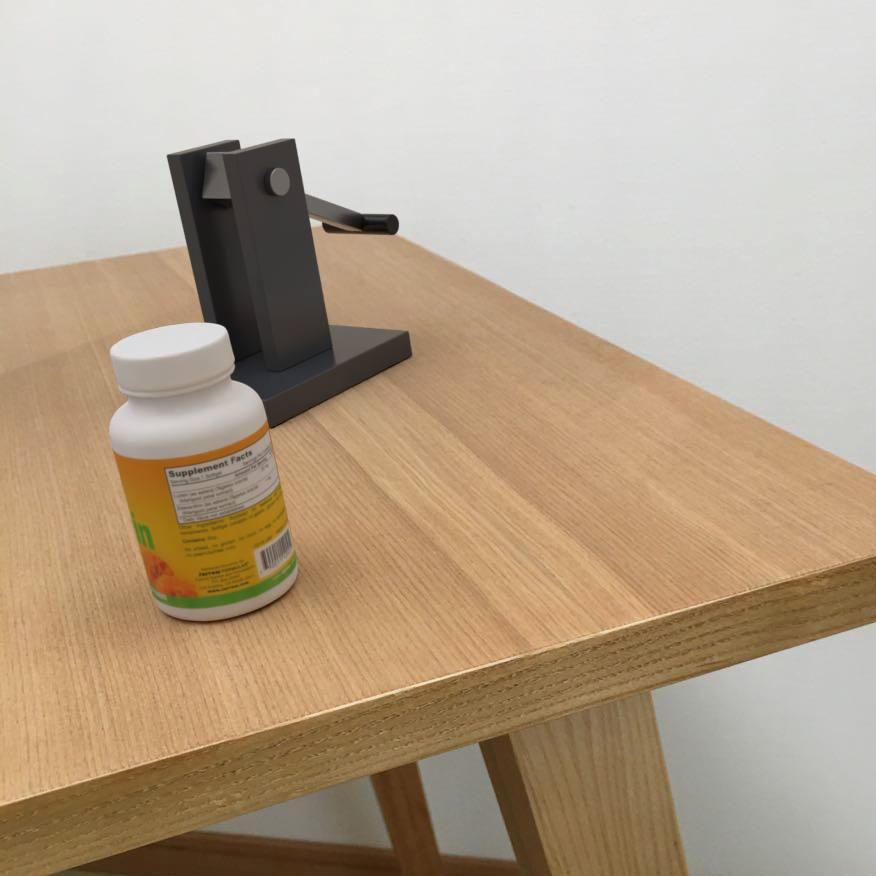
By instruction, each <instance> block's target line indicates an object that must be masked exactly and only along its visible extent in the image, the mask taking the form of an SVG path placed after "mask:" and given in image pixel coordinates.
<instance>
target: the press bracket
mask: <svg viewBox="0 0 876 876" xmlns="http://www.w3.org/2000/svg"><path fill="white" fill-rule="evenodd" d="M207 152H228V153H224V154H222V157H223V161H224V166H225V171H226V176H227V181H228V186H229V190H230V195H231V200H232V205H233V208H230V207H227V206H224V205H221V204H218V203H214V202H211V201H208V200H205V199H203V198H202V190H203V180H204V171H205V161H206V153H207ZM166 160H167V164H168V168H169V173H170V177H171V181H172V186H173V191H174V195H175V199H176V204H177V209H178V213H179V217H180V218H179V219H180V221H181V227H182V230H183V231H182V232H183V236H184V239H185V243H186V248H187V253H188V257H189V261H190V266H191V270H192V274H193V278H194V279H193V280H194V283H195V288H196V292H197V297H198V301H199V305H200V306H199V307H200V310H201V315H202V318H203V319H202V320H203V323H213V324H218V325H221V326H223V327H225V328H226V330H227V332H228V335H229V339H230V344H231V347H232V351H233V355H234V358H235V361H234V365H235V368H234V371H233V373H232V374H231V375H230V377H231V380H233V381H237V382H240V383H243V384H245V385H247V386H249V387H250V388H252V389H253V390H254V391H255V392H256V393H257V394H258V395H259V397H260V398H261V400H262V403H263V406H264V409H265V413H266V417H267V421H268V425H269V428H275V426H278V425H279V424H283V422H285V421H288V420H289V419H291V418H293V417H296V416H297V415H299V414H301V413H303V412H305V411H307V410H309V409H310V408H313V407H314V406H317V405H319V404H320V403H323V402H324V401H327V400H328V399H331V398H332V397H334V396H336V395H338V394H340V393H342V392H344V391H346V390H347V389H349V388H351V387H353V386H356V385H357V384H359V383H362V382H363V381H365V380H367V379H369V378H371V377H373V376H375V375H377V374H378V373H381V372H383V371H385V370H386V369H389V368H390V367H393V366H394V365H397V364H399V363H401V362H402V361H405V360H406V359H408V358H410V357H412V356H413V350H412V343H411V337H410V331H409V330H404V329H403V330H401V329H391V328H376V327H363V326H351V325H338V324H329V318H328V313H327V307H326V302H325V297H324V291H323V285H322V279H321V274H320V270H319V269H320V267H319V263H318V257H317V252H316V247H315V241H314V236H313V231H312V230H313V229H312V224H311V218H309V213H308V207H307V202H306V196H305V194H306V191H305V185H304V180H303V176H302V170H301V164H300V159H299V152H298V147H297V142H296V138H293V137H291V138H290V137H288V138H278V139H274V140H270V141H267V142H263V143H259V144H254V145H250V146H247V147H244V148H242V147H241V141H240V140H239V139H224V140H221V141H216V142H212V143H208V144H205V145H200V146H196V147H192V148H188V149H184V150H180V151H176V152H172V153H167V154H166Z"/></svg>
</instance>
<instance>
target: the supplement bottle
mask: <svg viewBox="0 0 876 876" xmlns="http://www.w3.org/2000/svg"><path fill="white" fill-rule="evenodd" d="M109 357H110V362H111V365H112V370H113V373H114V378H115V380H116V383H117V388H118V390H119V392H120V393H121V394H123V395H125V396H127V401H125V402H124V403H123V404H122V405H120V406H119V407H118V408H117V410H116V411H115V412H114V414H113V415H112V416H111V419H110V421H109V424H108V425H109V426H108V433H109V440H110V443H111V444H110V445H111V450H112V453H113V456H114V460H115V464H116V467H117V472H118V474H119V479H120V483H121V487H122V489H123V493H124V497H125V501H126V505H127V508H128V511H129V517H130V520H131V522H132V526H133V529H134V533H135V538H136V540H137V541H136V542H137V545H138V547H139V551H140V555H141V559H142V562H143V566H144V571H145V573H146V577H147V582H148V584H149V588H150V591H151V594H152V598H153V601H154V603H155V604H156V606H157V607H158V609H160V610H161V611H162V612H163V613H165V615H168V616H170V617H173V618H176V619H179V620H185V621H191V622H193V621H194V622H212V621H220V620H226V619H230V618H236V617H239V616H242V615H245V614H249V613H251V612H254V611H256V610H259V609H261V608H263V607H265V606H267V605H269V604H270V603H272V602H274V601H276V600H278V599H279V598H281V597H282V596H283V595H284V594H286V593H287V592H288V591H289V590H290V589H291V587H293V585H294V584H295V582H296V580H297V577H298V571H299V565H298V559H297V552H296V548H295V542H294V539H293V534H292V533H293V532H292V529H291V524H290V519H289V515H288V511H287V506H286V502H285V496H284V492H283V488H282V483H281V478H280V474H279V469H278V464H277V458H276V455H275V450H274V445H273V440H272V436H271V431H270V427H269V425H268V421H267V417H266V413H265V409H264V406H263V403H262V400H261V398H260V397H259V395H258V394H257V393H256V392H255V391H254V390H253V389H252V388H250V387H249V386H247V385H245V384H243V383H240V382H237V381H233V380H231V377H230V375H231V374H232V373H233V371H234V368H235V365H234V361H235V358H234V355H233V351H232V347H231V344H230V339H229V335H228V332H227V330H226V328H225V327H223V326H221V325H218V324H213V323H204V322H186V323H178V324H170V325H163V326H160V327H156V328H152V329H148V330H144V331H140V332H138V333H134V334H132V335H129V336H127V337H124V338H122V339H121V340H119V341H117V342H116V343H114V344H113V345H112V346H111V348H110V349H109Z"/></svg>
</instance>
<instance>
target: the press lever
mask: <svg viewBox="0 0 876 876" xmlns="http://www.w3.org/2000/svg"><path fill="white" fill-rule="evenodd" d="M224 153H228V152H207V153H206V161H205V171H204V180H203V190H202V198H203V199H205V200H208V201H211V202H214V203H218V204H221V205H224V206H227V207H230V208H233V205H232V200H231V195H230V190H229V186H228V181H227V176H226V171H225V166H224V161H223V157H222V154H224ZM305 196H306V202H307V207H308V213H309V218H310V220H311V219H312V220H315V221H317V222H320V223H321V227H322V230H323V231H324V232H325V233H326V234H331V235H333V234H336V235H367V236H369V235H370V236H395V235H397V233H398V232H399V229H400V220H399V218H398V217H397V215H396V214H394V213H361V212H358V211H355V210H353V209H350V208H348V207H345V206H341V205H339V204H336V203H334V202H330V201H327V200H325V199H322V198H320V197H316V196H313V195H311V194H308V193H305Z"/></svg>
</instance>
